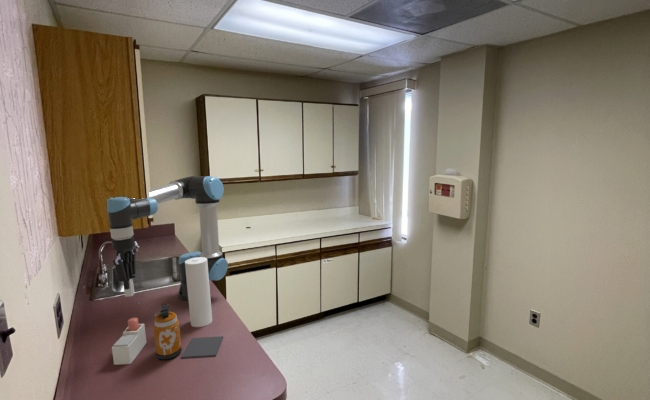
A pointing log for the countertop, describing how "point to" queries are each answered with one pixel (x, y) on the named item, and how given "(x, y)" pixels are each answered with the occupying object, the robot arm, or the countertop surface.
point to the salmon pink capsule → (133, 324)
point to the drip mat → (202, 347)
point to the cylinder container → (198, 291)
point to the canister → (167, 334)
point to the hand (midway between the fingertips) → (129, 295)
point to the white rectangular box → (129, 345)
